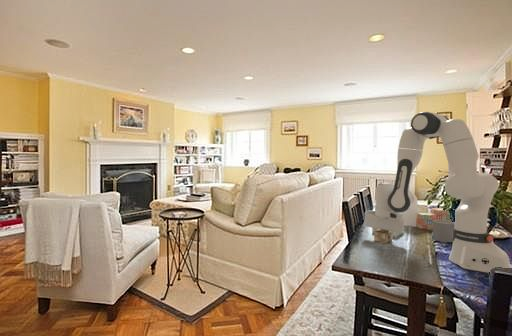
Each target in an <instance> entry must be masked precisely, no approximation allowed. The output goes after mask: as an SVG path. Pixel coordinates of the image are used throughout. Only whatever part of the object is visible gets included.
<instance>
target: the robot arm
mask: <svg viewBox="0 0 512 336" xmlns="http://www.w3.org/2000/svg"><path fill="white" fill-rule="evenodd" d="M473 137H474V136H473V135H472V132H471V130H470V129H469V127H468V125H467V124H466V122H465V121H464V120H463V119H460V118H451V119H449V118H448V117H447V116H445V115H442V114H439V113H436V112H429V111H421V112H418V113H416V114H415V115H414V116H413V117H412V118H411V121H410V127H406V128H405V129H404V130H403V131H402V133H401V136H400V138H399V144H398V148H397V157H396V159H397V160H396V161H397V167H396V174H395V175H396V176H395V180H394V183H392V182H382V183H379V184H377V185H376V187H375V188H376V189H375V195H374V199H375V204H374V210H369V209H368V210H365V212H364V222H363V226H365V228H366V227H367V228H372V230H373V232H375V231H376V228H377V229H382V230H388V231H391V233H392V234H391V235H389V236H388V237H389V238H388V239H392V240H393V237H392V236H393V234H394V233H395V232H399V233H402V232H403V233H404V232H405V226H404V220H403V219H402V218H401V217H402V216H403V214H402V213H400V212H405V211H406V210H408V208H409V206H410V205H411V204H412V203H413V200H414V198H413V195H412V193H413V192H412V191H411V192H412V193H411V192H409V191H408V188H409V189H410V182H411V177H412V174H413V173H414V170H415V169H416V168H417V167H418V165H419V164H420V162H421V160H422V156H423V151H424V146H425V145H424V144H425V142H426V140H427V139H428V140H432V139H437V138H439V139H440V140H441V142H442V145H443V146H442V147H443V149H444V152H445V156H446V160H447V164H448V165H447V167H448V174H447V175H448V176H447V179H446V180H445V184H444V191H445V192H446V194H448V196H450V197H451V198H454V199H458V200H460V203H459V205H458V206H457V208H456V209H454V210H455V223H454V228H453V233H452V239H453V242H452V246H451V251H450V254H449V256H448V260H449V261H450V262H451V263H453V264H456V265H458V266H459V267H461V268H462V269H465V270H470V271H476V272H482V273H487V274H490V273H489V272H490V270H491V269H492V268H495V267H502V268H512V264H511V262H510V257H509V256H508V255H509V254H507V252H505V250H503V249H502V248H501V247H500V246H497V245H496V244H495V243H494V242H493V241H494V237H493V234H492V233H489V232H487V227H488V215H489V211H490V207H491V205H492V201H493V198H494V195H495V194H496V193H497V191H498V190H499V188H500V187H499V186H500V185H499V180H498V178H496V177H495V176H494V175H492V174H489V173H485V172H478V169H477V167H478V166H477V161H479V153H478V149H477V146H476V143H475V141H474V138H473Z"/></svg>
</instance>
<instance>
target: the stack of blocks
mask: <svg viewBox="0 0 512 336" xmlns="http://www.w3.org/2000/svg"><path fill="white" fill-rule="evenodd" d="M443 208H444V207H443ZM443 208H442V207H439V208H438V207H436V208H435V207H434V208H433V207H431V208H430V212H418V213H417V219H416V228H417V229H421V230H433V220H448V221H451V219H450V213H449V212H448V211H444V210H443Z"/></svg>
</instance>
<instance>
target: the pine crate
mask: <svg viewBox="0 0 512 336" xmlns="http://www.w3.org/2000/svg"><path fill="white" fill-rule="evenodd" d="M391 234H392V233H391V231H388V230H382V229H379V230H377V231H375V232H374V234H373V235H374V237H373V238H374V239H373V240H374V242H376V241H377V243H380V242H381V243H382V244H388V243H389V242H390V241H392V240H393V238H392V239H388V238H389V237H388V236H389V235H391Z"/></svg>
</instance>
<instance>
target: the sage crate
mask: <svg viewBox="0 0 512 336" xmlns="http://www.w3.org/2000/svg"><path fill="white" fill-rule="evenodd" d="M377 230H379V229H377V228H376V231H377ZM371 233H372V234H373V233H374V232H373V230H372V231H371ZM403 234H404V231H403V232H402V233H399V232H395V233H394V234H393V236H392V239H393V238H394V239H397V238H398V237H399V236H401V235H403Z"/></svg>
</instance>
